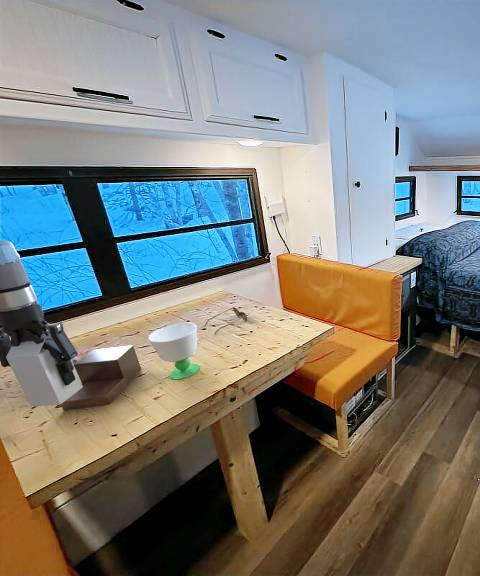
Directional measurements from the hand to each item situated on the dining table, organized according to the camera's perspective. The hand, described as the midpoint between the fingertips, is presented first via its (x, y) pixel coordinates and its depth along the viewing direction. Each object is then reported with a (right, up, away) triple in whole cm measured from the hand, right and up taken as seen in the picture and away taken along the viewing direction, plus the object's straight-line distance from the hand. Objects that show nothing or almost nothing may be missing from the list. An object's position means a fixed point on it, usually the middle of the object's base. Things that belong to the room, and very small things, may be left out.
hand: (52, 384), depth 81 cm
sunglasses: (+15, +8, +60) cm, 62 cm away
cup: (+18, -4, +26) cm, 32 cm away
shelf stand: (-2, -7, +18) cm, 20 cm away
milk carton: (0, -4, +2) cm, 4 cm away
